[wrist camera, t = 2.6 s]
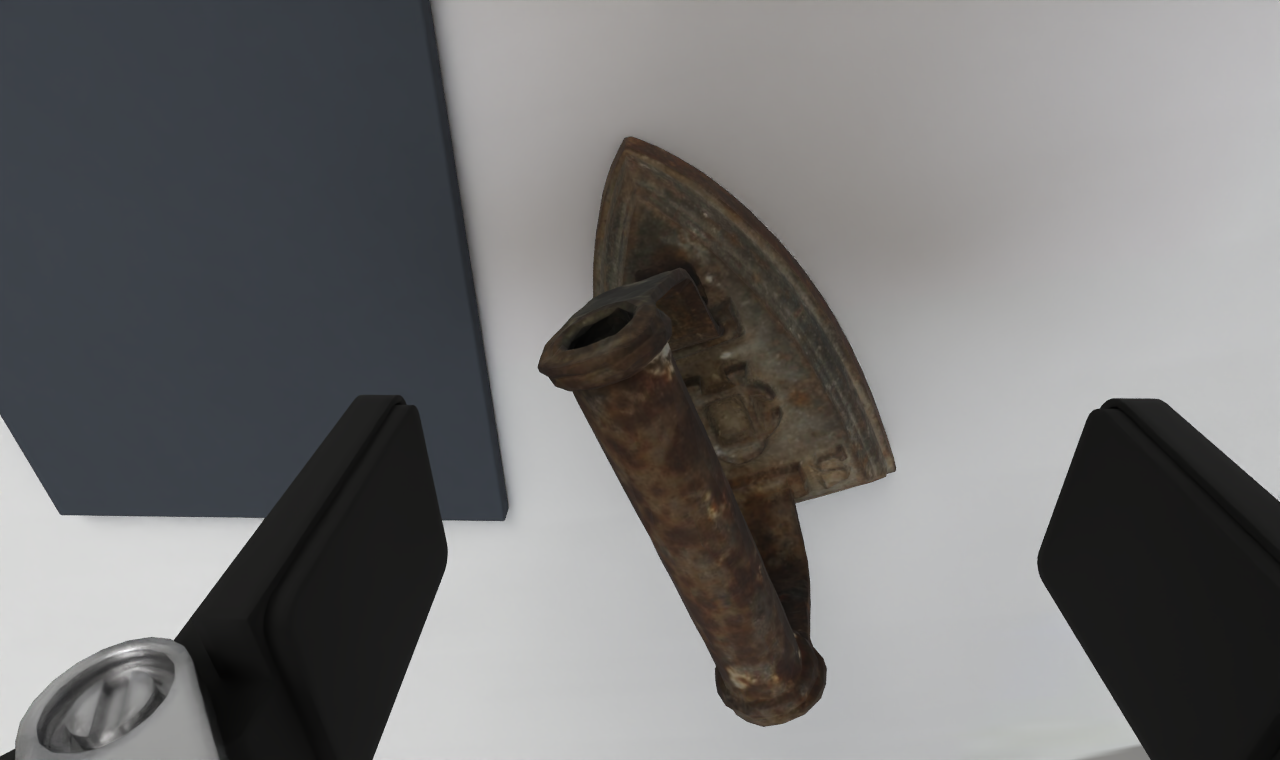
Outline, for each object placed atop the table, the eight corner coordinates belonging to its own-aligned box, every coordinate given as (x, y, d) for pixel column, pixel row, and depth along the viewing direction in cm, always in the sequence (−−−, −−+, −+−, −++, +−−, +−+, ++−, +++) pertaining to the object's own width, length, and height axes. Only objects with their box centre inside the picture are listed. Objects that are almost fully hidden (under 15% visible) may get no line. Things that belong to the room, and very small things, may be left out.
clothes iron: (675, 528, 22) (581, 813, 13) (531, 187, 19) (287, 250, 10) (900, 477, 20) (974, 780, 11) (774, 82, 17) (734, 44, 8)
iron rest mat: (-449, -398, 12) (-499, -413, 11) (362, -438, 11) (347, -457, 11) (73, 503, 22) (59, 516, 22) (509, 508, 22) (505, 522, 21)
